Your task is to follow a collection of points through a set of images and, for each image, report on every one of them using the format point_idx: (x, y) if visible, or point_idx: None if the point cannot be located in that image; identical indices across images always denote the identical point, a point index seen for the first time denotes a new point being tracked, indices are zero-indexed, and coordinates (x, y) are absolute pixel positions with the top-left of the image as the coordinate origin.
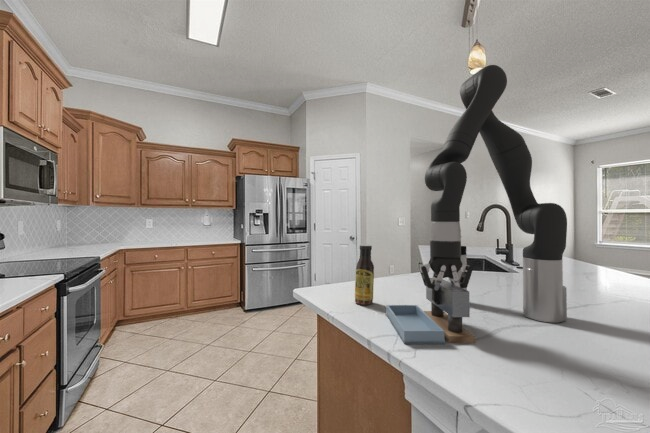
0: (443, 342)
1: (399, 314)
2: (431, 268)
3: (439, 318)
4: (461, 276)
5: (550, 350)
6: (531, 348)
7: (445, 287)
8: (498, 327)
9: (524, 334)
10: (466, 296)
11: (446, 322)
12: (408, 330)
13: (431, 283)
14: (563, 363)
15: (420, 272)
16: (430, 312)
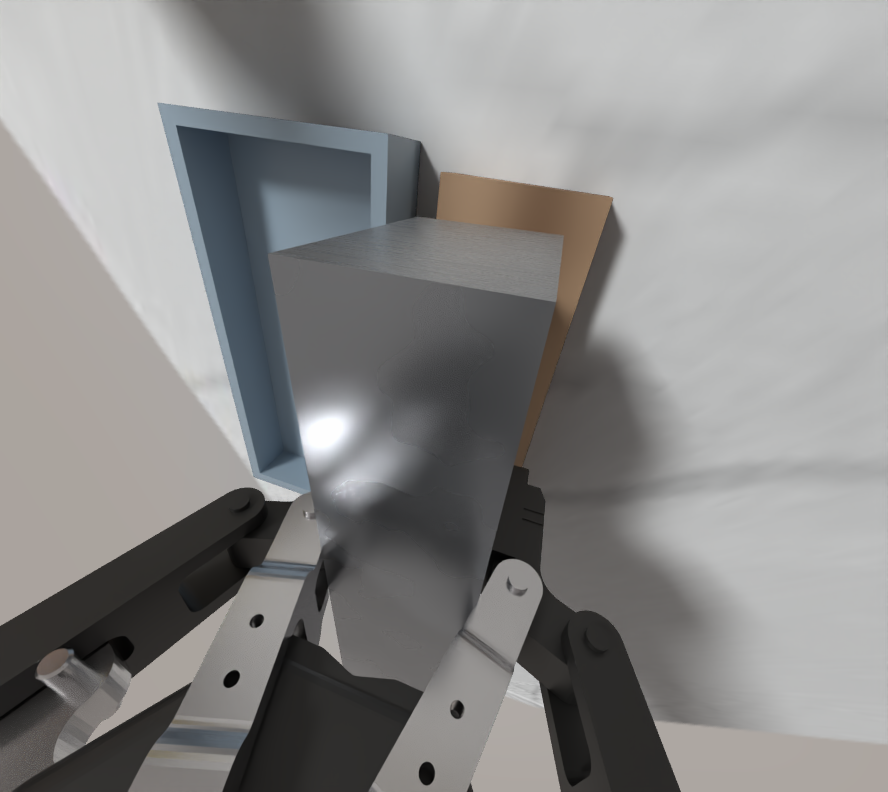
0: None
1: (290, 159)
2: (112, 739)
3: None
4: (598, 773)
5: (715, 623)
6: (664, 596)
7: (344, 640)
8: (796, 456)
9: (818, 544)
10: None
11: None
12: (266, 478)
13: (267, 551)
14: (646, 649)
15: (57, 597)
16: (484, 218)
